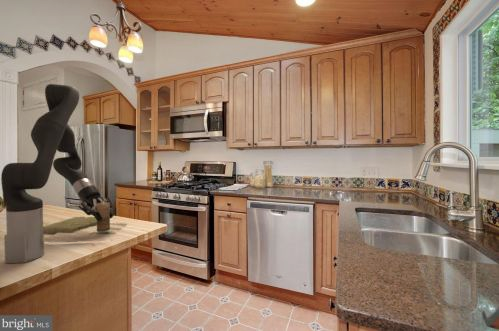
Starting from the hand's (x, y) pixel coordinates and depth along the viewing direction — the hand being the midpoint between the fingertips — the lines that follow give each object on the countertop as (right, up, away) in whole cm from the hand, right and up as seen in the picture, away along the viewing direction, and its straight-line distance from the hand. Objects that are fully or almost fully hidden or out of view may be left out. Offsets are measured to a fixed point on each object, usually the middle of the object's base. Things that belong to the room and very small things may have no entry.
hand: (106, 218), depth 104 cm
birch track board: (-3, -7, +6) cm, 10 cm away
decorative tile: (-22, -8, +11) cm, 26 cm away
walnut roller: (-2, -5, +1) cm, 6 cm away
